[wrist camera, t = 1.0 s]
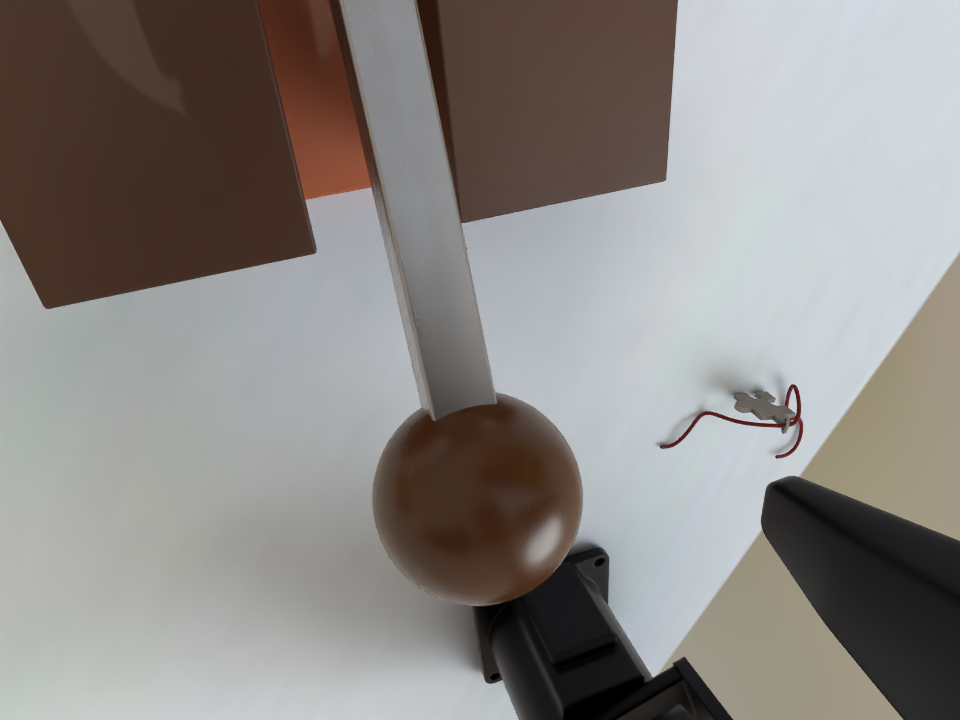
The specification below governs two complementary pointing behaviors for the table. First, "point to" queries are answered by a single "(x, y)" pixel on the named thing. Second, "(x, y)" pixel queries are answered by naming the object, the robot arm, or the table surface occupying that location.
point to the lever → (447, 352)
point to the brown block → (295, 124)
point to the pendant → (760, 414)
